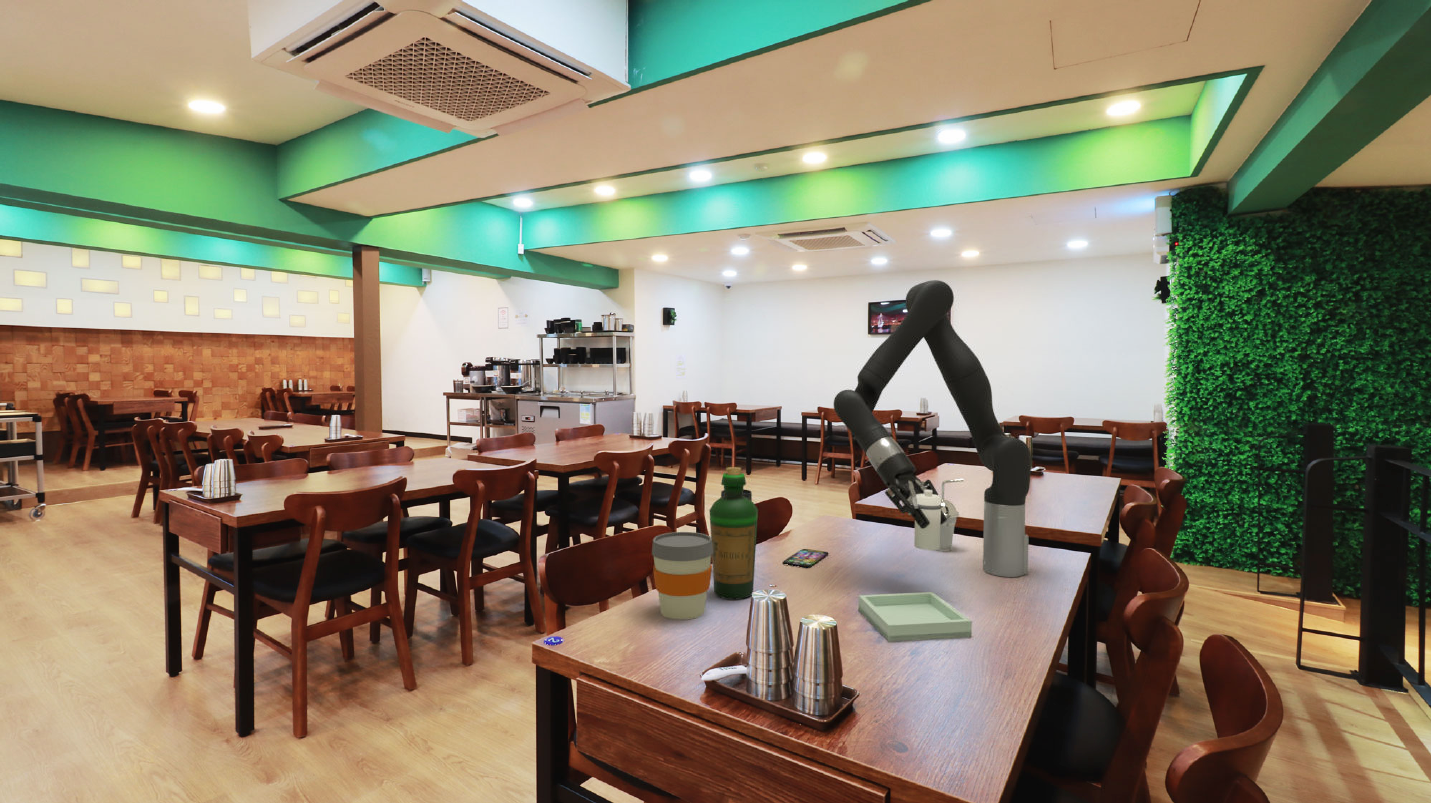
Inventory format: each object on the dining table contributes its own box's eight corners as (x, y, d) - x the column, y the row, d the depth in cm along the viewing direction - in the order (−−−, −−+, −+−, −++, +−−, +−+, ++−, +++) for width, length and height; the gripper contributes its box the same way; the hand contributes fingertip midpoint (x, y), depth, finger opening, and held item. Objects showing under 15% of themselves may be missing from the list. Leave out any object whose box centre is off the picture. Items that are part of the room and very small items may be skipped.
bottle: (700, 597, 142) (700, 469, 141) (723, 583, 152) (723, 463, 150) (745, 605, 137) (745, 473, 136) (765, 590, 147) (765, 466, 145)
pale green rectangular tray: (932, 606, 137) (932, 592, 136) (971, 636, 121) (971, 621, 121) (858, 609, 135) (858, 595, 134) (888, 641, 119) (888, 625, 119)
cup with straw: (937, 543, 186) (938, 474, 185) (966, 550, 179) (967, 478, 178) (920, 548, 181) (921, 477, 180) (949, 555, 174) (951, 481, 173)
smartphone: (780, 562, 166) (802, 548, 179) (780, 565, 166) (802, 551, 180) (809, 566, 163) (830, 552, 176) (809, 570, 163) (830, 555, 176)
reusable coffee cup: (706, 625, 126) (705, 548, 126) (644, 620, 129) (643, 545, 128) (718, 602, 139) (718, 533, 138) (661, 598, 141) (661, 530, 141)
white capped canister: (933, 543, 143) (934, 487, 142) (945, 550, 137) (946, 492, 137) (909, 543, 142) (910, 488, 142) (920, 550, 137) (921, 493, 136)
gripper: (879, 453, 141) (925, 518, 132) (920, 449, 149) (966, 510, 140) (859, 474, 145) (903, 539, 136) (900, 469, 154) (943, 529, 145)
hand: (934, 524), depth 138 cm, fingers closed on white capped canister, 5 cm apart
